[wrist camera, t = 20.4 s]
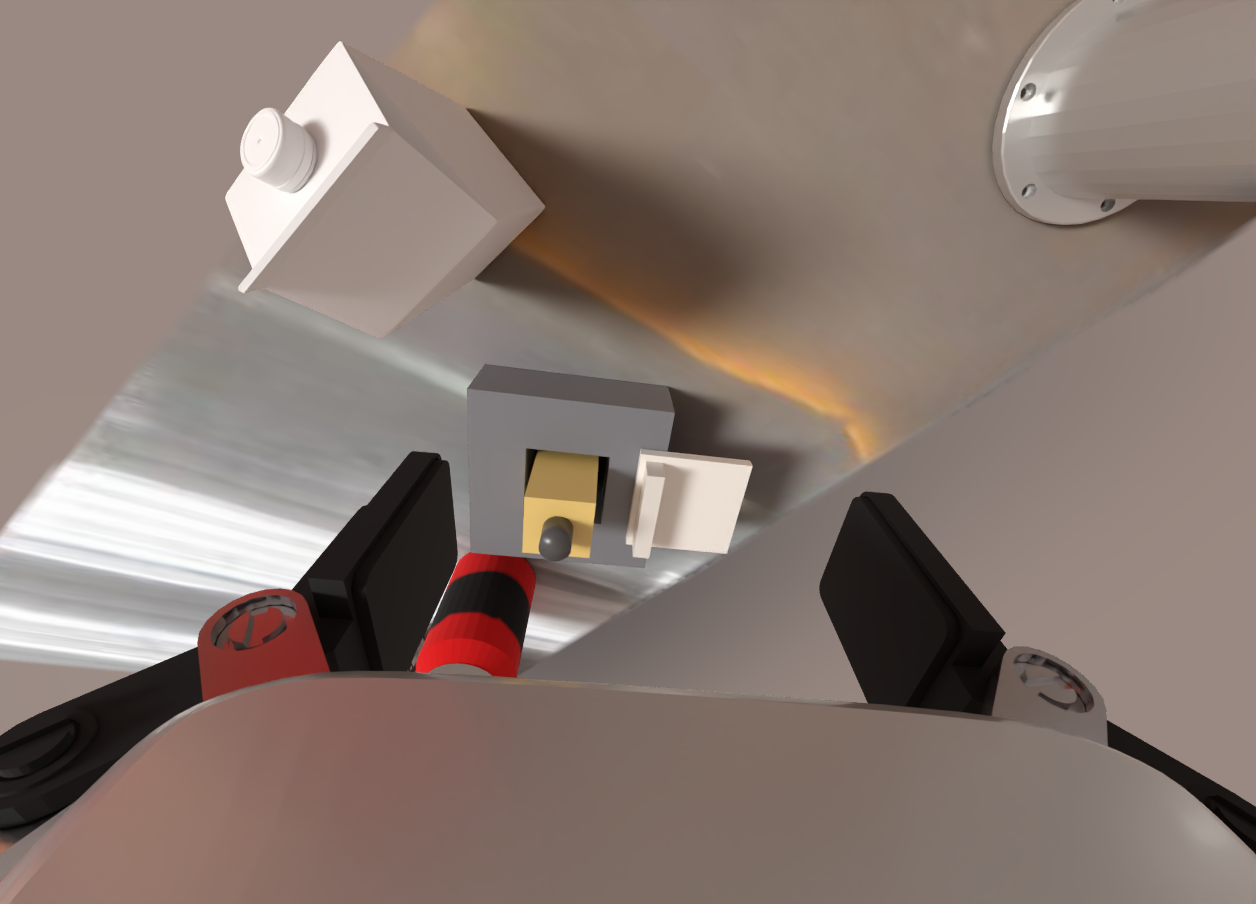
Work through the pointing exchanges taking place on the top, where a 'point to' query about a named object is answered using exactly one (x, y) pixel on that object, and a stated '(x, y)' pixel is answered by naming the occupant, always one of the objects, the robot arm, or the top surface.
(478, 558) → the soda can
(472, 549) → the socket housing
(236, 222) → the milk carton
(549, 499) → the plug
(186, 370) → the top surface
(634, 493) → the plate
